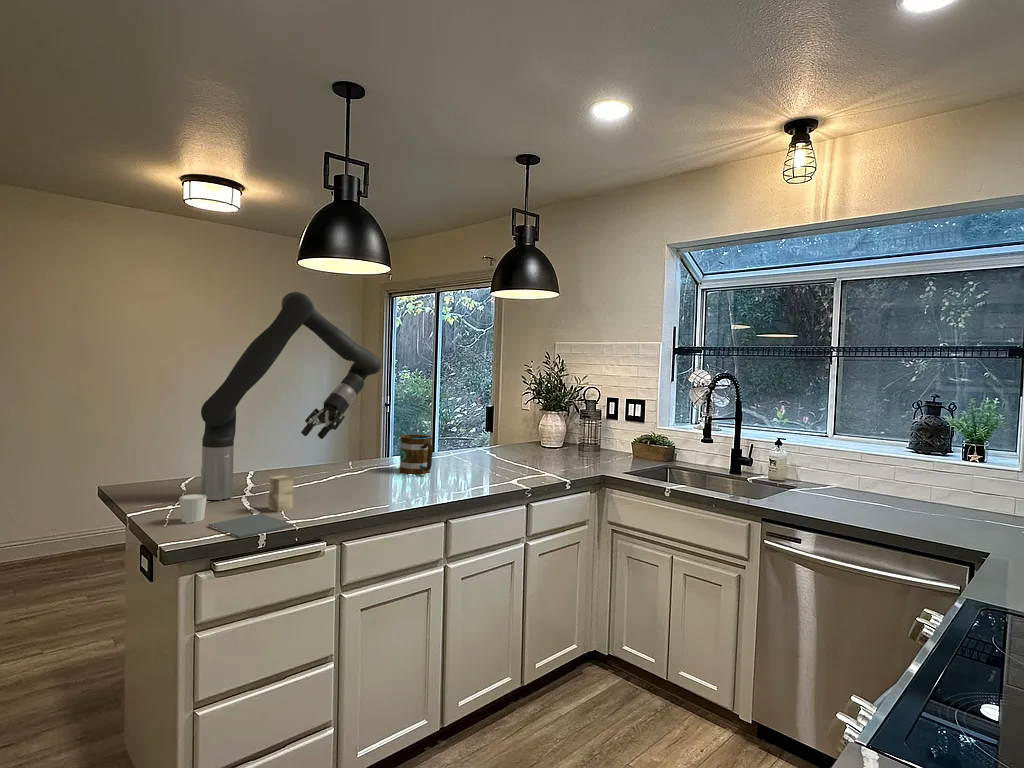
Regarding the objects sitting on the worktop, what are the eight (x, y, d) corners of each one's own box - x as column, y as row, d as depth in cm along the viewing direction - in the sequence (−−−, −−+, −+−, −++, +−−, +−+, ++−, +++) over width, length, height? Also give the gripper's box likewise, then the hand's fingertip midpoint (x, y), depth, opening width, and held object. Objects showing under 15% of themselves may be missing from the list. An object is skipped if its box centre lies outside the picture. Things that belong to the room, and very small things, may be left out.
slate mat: (207, 526, 166) (207, 524, 166) (260, 515, 179) (260, 513, 179) (239, 538, 157) (239, 536, 157) (293, 526, 170) (293, 524, 170)
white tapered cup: (210, 518, 174) (211, 494, 174) (199, 524, 167) (199, 499, 167) (186, 517, 174) (186, 493, 173) (173, 523, 167) (174, 498, 167)
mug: (392, 470, 255) (394, 435, 255) (420, 467, 264) (422, 433, 263) (415, 479, 240) (416, 441, 239) (444, 476, 248) (445, 440, 248)
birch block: (268, 509, 186) (269, 477, 186) (282, 506, 190) (283, 475, 190) (278, 512, 183) (279, 479, 183) (292, 509, 187) (293, 477, 187)
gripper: (320, 390, 208) (291, 426, 199) (348, 393, 200) (318, 430, 191) (333, 405, 212) (304, 440, 204) (360, 408, 204) (331, 445, 195)
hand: (311, 435), depth 197 cm, fingers open, 8 cm apart
